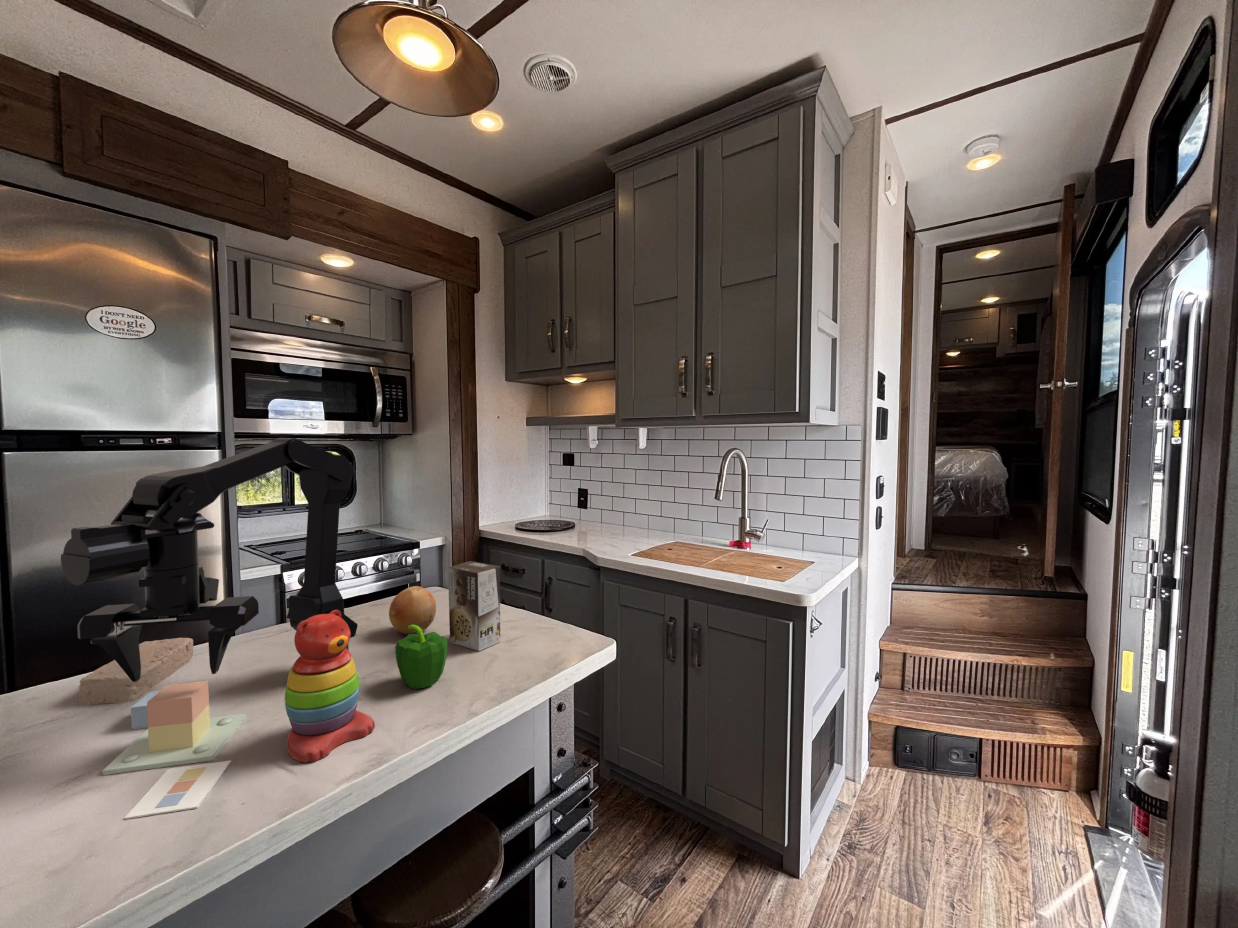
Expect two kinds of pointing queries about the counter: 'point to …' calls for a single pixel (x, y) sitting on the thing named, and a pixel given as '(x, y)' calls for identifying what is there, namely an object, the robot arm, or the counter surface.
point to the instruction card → (179, 789)
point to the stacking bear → (323, 690)
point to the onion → (412, 609)
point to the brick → (155, 667)
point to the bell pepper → (421, 657)
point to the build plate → (180, 755)
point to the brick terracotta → (178, 704)
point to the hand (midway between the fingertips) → (176, 676)
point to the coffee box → (474, 604)
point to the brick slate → (141, 711)
